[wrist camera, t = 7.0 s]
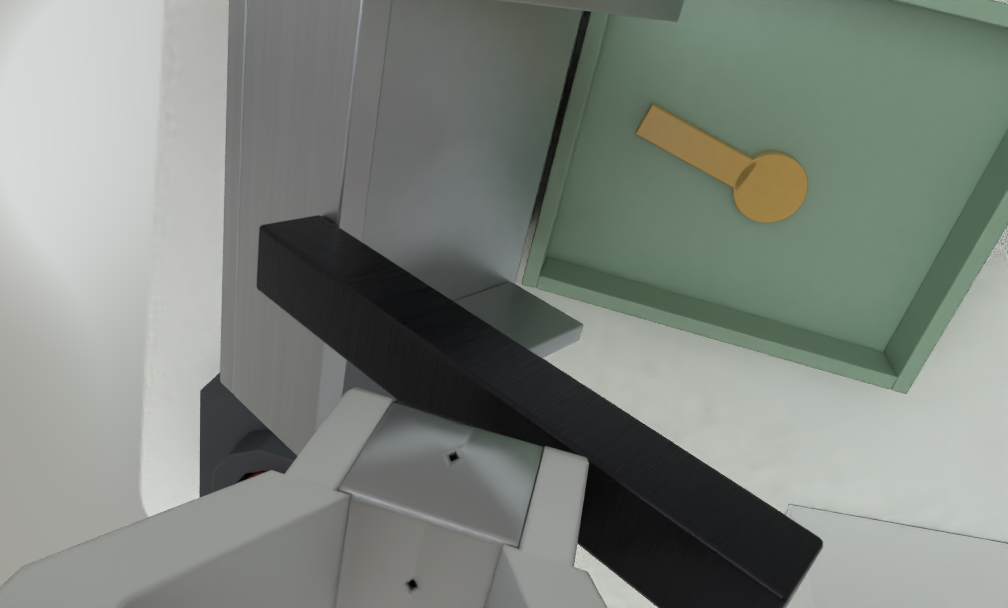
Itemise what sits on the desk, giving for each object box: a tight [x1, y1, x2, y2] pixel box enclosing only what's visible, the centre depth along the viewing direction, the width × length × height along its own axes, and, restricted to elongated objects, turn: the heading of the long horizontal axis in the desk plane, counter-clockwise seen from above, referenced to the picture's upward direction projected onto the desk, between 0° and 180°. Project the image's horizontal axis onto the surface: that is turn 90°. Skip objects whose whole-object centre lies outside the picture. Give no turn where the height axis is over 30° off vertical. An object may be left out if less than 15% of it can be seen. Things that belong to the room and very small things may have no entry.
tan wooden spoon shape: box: [636, 103, 808, 223], centre depth 26 cm, size 7×3×1 cm, turn 64°
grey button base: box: [200, 373, 298, 497], centre depth 36 cm, size 10×8×4 cm
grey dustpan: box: [220, 0, 823, 608], centre depth 14 cm, size 11×10×12 cm
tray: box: [522, 0, 1008, 394], centre depth 25 cm, size 15×13×2 cm
